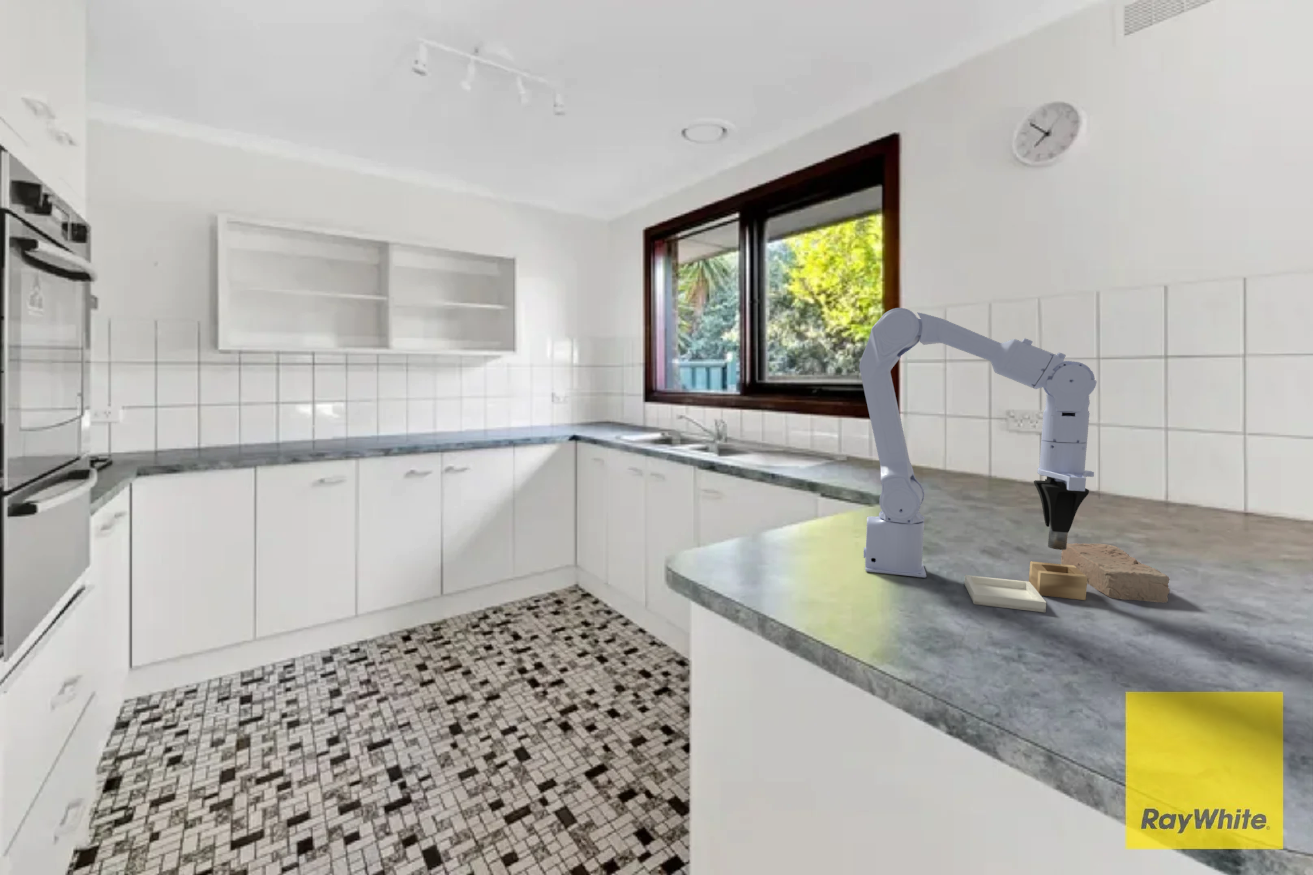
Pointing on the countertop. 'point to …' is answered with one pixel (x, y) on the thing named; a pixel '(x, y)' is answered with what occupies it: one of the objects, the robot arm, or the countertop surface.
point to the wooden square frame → (1058, 580)
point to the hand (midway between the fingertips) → (1056, 529)
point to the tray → (1004, 593)
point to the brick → (1117, 572)
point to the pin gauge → (1057, 539)
